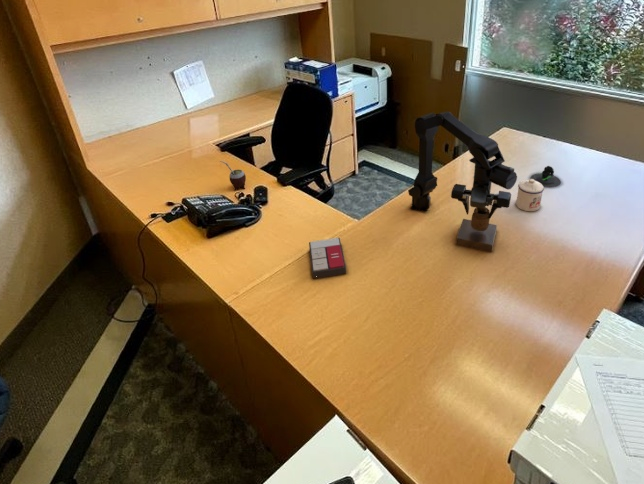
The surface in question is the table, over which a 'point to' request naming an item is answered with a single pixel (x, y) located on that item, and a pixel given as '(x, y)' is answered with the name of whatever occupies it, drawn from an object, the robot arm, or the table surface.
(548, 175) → the dark grey hat
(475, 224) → the utensil holder
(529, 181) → the teacup with lid
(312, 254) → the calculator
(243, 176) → the mate gourd
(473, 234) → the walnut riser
